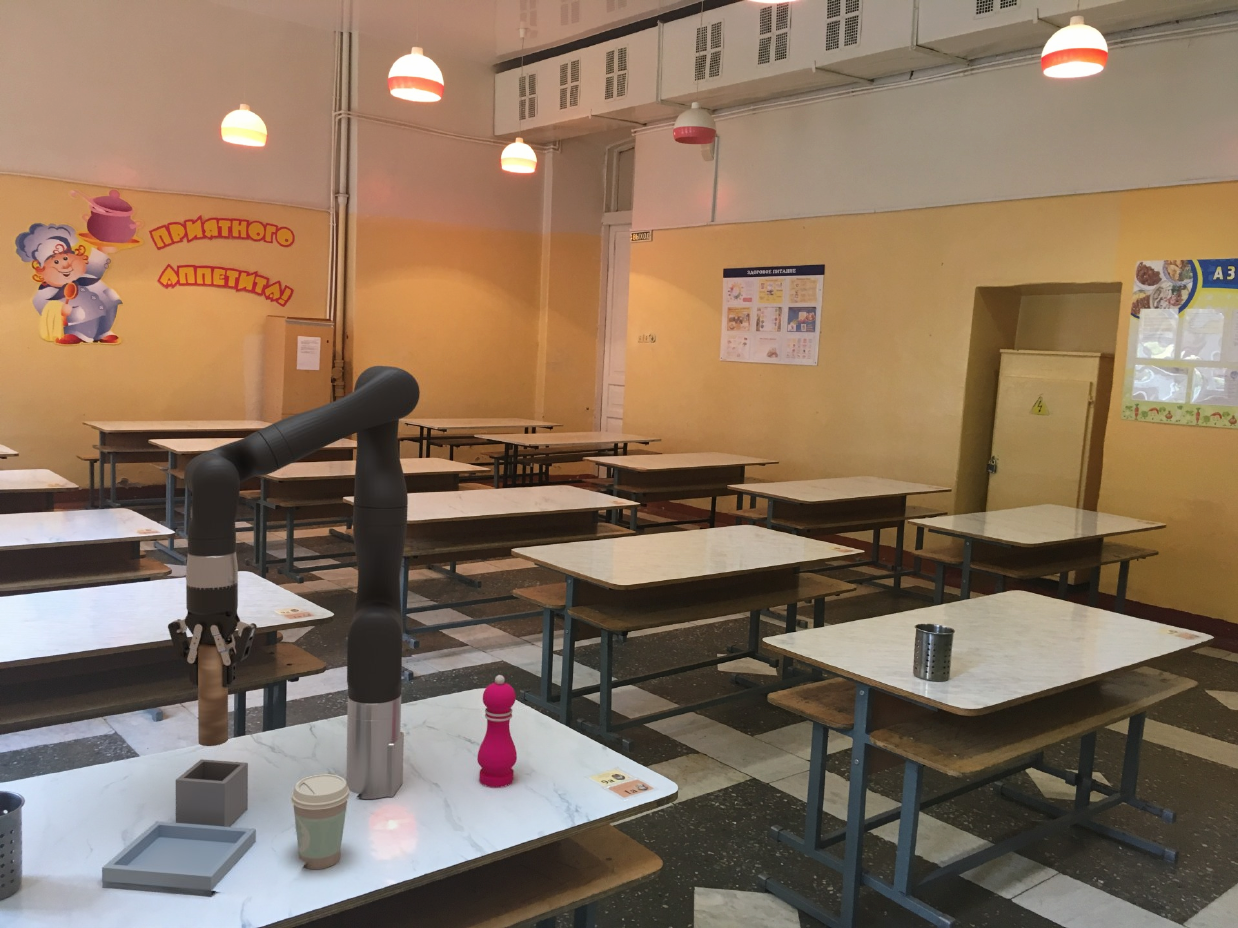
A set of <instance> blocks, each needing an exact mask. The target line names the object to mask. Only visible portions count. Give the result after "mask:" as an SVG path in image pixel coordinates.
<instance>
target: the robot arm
mask: <svg viewBox="0 0 1238 928" xmlns="http://www.w3.org/2000/svg"><path fill="white" fill-rule="evenodd" d="M420 393H421V392H420V385H419V383H418V381H417V380H416V378H415V377H414V376H413V375H412V374H411V373H410V372H408V371H407V370H405V369H403V368H400V367H396V366H388V365H375V366H371V367H368V368H366V369H365V370H363V371H362V372H361V374H360V375H358V377H357V379H356V381H355V384H354V387H353V392H351V393H349V394H347V395H345V396H343V397H340V398H339V399H336V400H335V401H332V402H329V403H327V404H325V405H322V406H319V407H316V408H313V409H309V410H305V411H303V412H300V413H297V414H293V415H291V416H288V417H285V418H283V419H281V420H279V421H276V422H274V423H272V424H268V425H267V426H265V427H263V428H261V429H259V430H257V431H255V432H252V433H250V434H249V435H248V436H245V437H244V438H241V439H238V440H236V441H232V442H229V443H226V444H223V445H220V446H218V447H215V448H212V449H209V450H207V451H205V452H203V453H200V454H198V455H197V456H195V457H193V458H192V459H191V460H190V461H189V462H188V464H187V465H186V467H185V469H184V474H183V480H184V483H185V486H186V487H187V489H188V490H189V491H190V492H191V494H192V495H191V497H192V498H191V499H192V500H191V501H192V503H191V504H192V506H191V513H192V514H191V519H190V520H189V523H188V526H187V559H186V560H187V561H186V566H185V567H186V568H185V580H186V581H185V585H186V587H185V589H186V591H185V592H186V595H185V597H186V598H185V599H186V611H187V614H186V616H185V618H183V619H179V618H177V619H176V620H174V621H171V622H170V623H168V625H167V628H168V629H167V630H168V632H169V635H170V636H169V637H170V638H171V643H172V646H173V649H174V652H175V656H176V658H177V659H179V660H182V659H184V660H186V661H187V662H188V665H189V666H188V667H189V668H188V670H189V673H188V674H189V676H188V678H189V682H190V683H191V684H192V687H193V686H195V687H198V646H200V644H208V643H211V644H214V645H216V646H217V649H218V652H220V653H221V656H222V659H223V663H224V665H223V687H224V688H228V689H229V688H230V687H232V686H233V684H234V683H235V682H236V681H237V663H240V662H242V661H244V660H245V659H246V658H248V657H249V655H250V651H251V648H252V644H253V642H254V638H255V634H256V631H257V630H258V629H257V628H258V626H257V624H256V623H254V622H253V623H250V624H249V623H246V622H245V621H241V618H240V617H239V615H238V607H239V596H238V595H239V580H238V579H239V575H238V573H239V567H238V566H239V565H238V560H237V559H238V558H237V532H236V531H237V530H236V520H237V516H238V508H239V500H240V492H241V491H240V488H241V483H243V482H245V481H247V480H249V479H251V478H254V477H260V476H267V475H270V474H273V473H275V472H276V471H279V470H281V469H283V468H285V467H288V466H289V465H291V464H293V463H295V462H297V461H299V460H301V459H303V458H305V457H308V456H309V455H311V454H313V453H315V452H317V451H318V450H321V449H323V448H325V447H327V446H328V445H331V444H333V443H335V442H338V441H339V440H342V439H344V438H347V437H349V436H352V435H353V434H356V458H355V472H354V493H353V508H352V509H353V514H352V515H353V516H352V531H353V532H352V535H353V545H354V553H355V559H356V564H357V565H356V566H357V588H356V597H355V604H354V611H353V615H352V619H351V622H350V625H349V628H348V631H347V641H346V644H347V645H346V683H347V714H346V716H347V718H346V719H347V720H346V721H347V723H346V724H347V726H346V732H347V733H346V771H345V773H346V776H345V780H346V783H347V786H348V788H349V792H352V793H355V794H357V796H356V798H358V799H363V800H364V799H365V800H369V799H370V800H374V799H381V798H385V797H389V798H390V797H391V798H392V797H394V796H395V794H396V793H397V792H398V790H399V789H400V787H401V786H402V784H403V783H404V779H403V778H404V751H405V750H404V746H405V745H404V743H405V738H404V737H405V733H404V732H403V731H401V727H402V726H401V724H402V723H401V722H402V720H401V719H402V690H403V689H402V688H403V687H402V686H403V681H402V679H403V677H402V674H403V673H402V672H403V671H402V666H403V665H402V662H403V635H404V620H403V619H404V618H403V614H402V613H403V612H402V600H401V598H402V597H401V583H400V582H401V569H402V562H403V557H404V552H405V547H406V540H407V539H406V536H407V528H408V527H407V526H408V510H409V509H408V507H409V506H408V504H409V503H408V502H409V500H408V499H409V498H408V490H407V488H408V487H407V484H406V483H407V482H406V478H405V474H404V471H403V467H402V462H401V458H400V454H399V445H398V444H399V443H398V439H399V437H398V436H399V435H398V434H399V422H400V420H401V419H403V418H406V417H407V416H409V415H410V414H411V413H413V411H414V410H415V409H416V407H417V406H418V403H419V400H420V395H421V394H420ZM187 630H189V632H190V633H191V635H192V637H191V641H189V637H188V634H187ZM235 631H238V634H237V635H238V636H239V637H240V638H239V641H238V644H237V648H236V640H235V637H234V635H233V634H234V633H235ZM225 643H227V644H225Z"/></svg>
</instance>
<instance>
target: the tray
mask: <svg viewBox="0 0 1238 928" xmlns="http://www.w3.org/2000/svg"><path fill="white" fill-rule="evenodd" d="M256 834H257V829H256V828H247V827H235V826H230V827H223V826H211V825H198V824H185V823H176V822H172V821H171V822H170V821H158V820H157V821H154V823H153V824H152V825H150V826H149V827H148V828H147V829H145V830H144V831H143V832H142V833H140V835H138V837H136V838H135V839H134V840H133V841H132V842H130V843H129V844H128V845H127V846H125V848H123V849H122V850H121V851H119V853H117V854H116V855H115V856H113V858H112V859H110V860H109V861H108V862H107V863H106V864H104V865H103V866H102V867H101V885H102V887H101V888H103V889H113V890H114V889H115V890H124V891H137V892H138V891H139V892H148V893H160V894H162V893H163V894H171V895H172V894H175V895H187V896H199V897H208V898H212V897H213V896H214V894H215V893H216V892H217V890H213V889H214V888H215V887H216V886H217V885H218V884H219V883H220V881H221V880H222V879H223V878H224V877H225V876H226V875H227V874H228V873H229V872H230V871H231V870H232V868H233V867H234V866H235V865H236V864H237V863H238V862H240V859H241V858H243V856H244V855H245V854H246V853H247V852H248V851H249V850H250V849H251V847H252V846H254V844H255V843H256V842H257V839H256V838H257V836H256Z"/></svg>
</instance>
